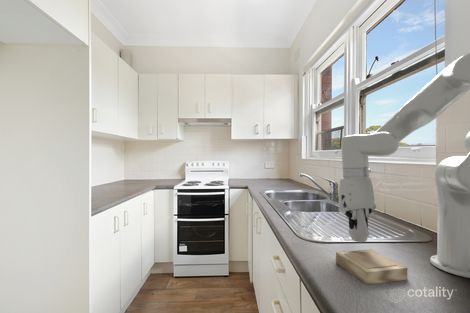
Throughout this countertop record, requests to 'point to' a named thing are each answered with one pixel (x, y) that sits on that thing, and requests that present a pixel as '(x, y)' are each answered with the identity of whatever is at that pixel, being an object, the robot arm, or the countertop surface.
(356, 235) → the salt shaker
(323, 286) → the countertop surface
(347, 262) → the base board
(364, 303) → the countertop surface
